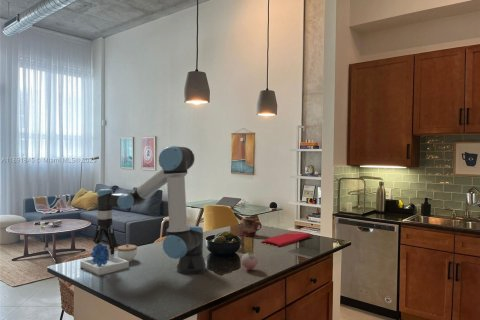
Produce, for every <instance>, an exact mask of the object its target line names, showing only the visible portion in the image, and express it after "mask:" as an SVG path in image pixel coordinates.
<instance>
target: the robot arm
mask: <svg viewBox="0 0 480 320" xmlns="http://www.w3.org/2000/svg"><path fill="white" fill-rule="evenodd" d="M194 164H195V154H194V152H193V150H191V148H188V147H185V146H177V145H176V146H175V145H174V146H173V145H172V146H167V147H165V148H163V149H162V150H161V152H160V153H159V155H158V165H159V166H160V167H161V169H160V170H159V171H157V172H156V173H155V174H154V175H152V176H151V177H150V178H149V179H147V180H146V181H145V182H143V183H142V184H141V185H140V186H138V187H137V188H136V189H135V190H133V191H129V192H124V193H115V192H114V191H113V189H112V188H102V189H101V188H100V189H98V190H97V214H96V215H97V217H96V218H97V225H96V226H95V227H96V228H95V231H94V232H95V233H94V236H93V240H92V242H93V243H94V244H95V246H97V245H98V244H99V243H101V244H102V239H103V238H105V239H106V242H107V244H108V246H109V247H108V249H109V261H112V260H114V256H115V248H118V245H117V244H118V243H117V240H116V235H115V229H114V227H113V228H111V226H112V225H113V208H115V209H123V210H124V209H131V207H134V206H139V205H143V204H144V203H146V200H147V198H149V197H150V196H152V195H153V194H154V193H156V192H157V191H158V190H159V189H160V188H162V187H163V186H165V185H166V186H167V187H166V188H167V205H168V206H167V207H168V228H167V229H166V230H165V231H166V232H165V233H166V237H164V239H163V241H162V250H163V252H164V254H165V255H167V256H168V257H169V258H171V259H176V260H177V259H179V260H178V263H177V264H176V265H177V266H176V272H178V273H179V274H183V275H195V274H196V275H197V274H202V273H203V272H204V273H205V271H206V270H207V265H206V264H207V263H205V258H204V252H203V249H204V229H203V227H201V226H198V225H197V226H196V225H188V223H187V202H186V201H187V200H186V199H187V198H186V181H185V179H186V178H185V177H186V176H187V175H188V170H189V169H190V168H192V167H193V165H194Z"/></svg>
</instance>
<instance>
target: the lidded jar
mask: <svg viewBox="0 0 480 320" xmlns="http://www.w3.org/2000/svg"><path fill="white" fill-rule="evenodd" d="M116 249H117V257H118V258H121V259H124V260H127V261H129V262H133V260H134V259H135V258H136V256H137V253H138V252H137V251H138V246H137V245H135V244H129V243H127V244H123V245H119V246H117V247H116Z"/></svg>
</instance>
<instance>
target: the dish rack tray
mask: <svg viewBox="0 0 480 320" xmlns="http://www.w3.org/2000/svg"><path fill="white" fill-rule="evenodd" d="M79 266H80V267H81V268H80V269H82V268H83V270H84V271H87V272H90V273H91V274H94V275H96V276H103V275H106V274H109V273H113V272H118V271H121V270H125V269H129V268H130V267H129V266H130V263H129V261H127V260H124V259H121V258H119V257H118V256H115V255H114V260H112V261H109V260H107V264H106V265H103V264H102V265H101V266H98V265H97V263H93V257H91V258H89V259H85V260H80V265H79Z"/></svg>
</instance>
